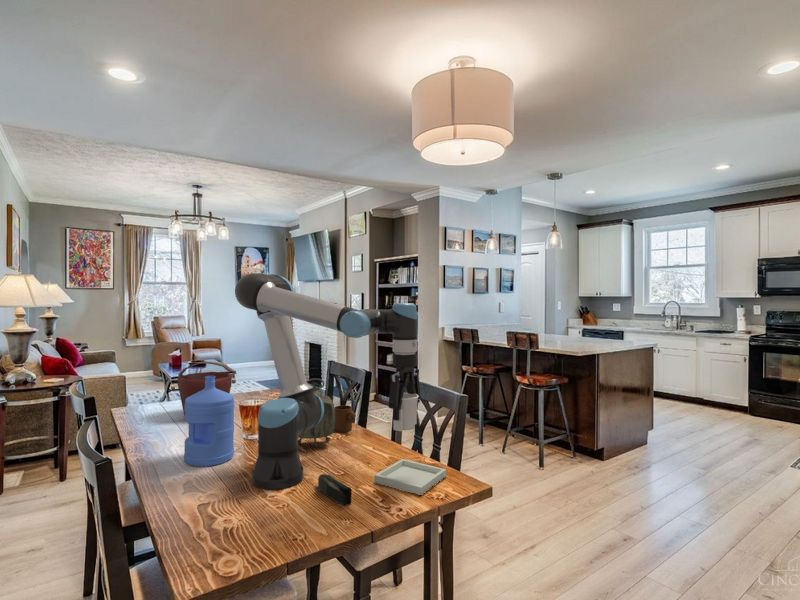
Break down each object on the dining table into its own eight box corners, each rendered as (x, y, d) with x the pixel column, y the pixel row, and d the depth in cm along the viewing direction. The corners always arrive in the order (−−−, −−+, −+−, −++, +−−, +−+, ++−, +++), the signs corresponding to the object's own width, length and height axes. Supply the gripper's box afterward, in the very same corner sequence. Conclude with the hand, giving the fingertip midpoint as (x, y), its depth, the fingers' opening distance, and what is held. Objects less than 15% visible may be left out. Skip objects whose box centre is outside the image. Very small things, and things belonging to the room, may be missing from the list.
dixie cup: (417, 423, 143) (417, 392, 143) (420, 431, 134) (419, 398, 134) (391, 424, 142) (391, 392, 142) (392, 431, 134) (391, 398, 134)
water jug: (216, 447, 164) (217, 371, 163) (243, 457, 154) (244, 376, 154) (174, 460, 151) (175, 377, 150) (200, 471, 142) (201, 382, 141)
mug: (361, 433, 183) (362, 409, 183) (346, 436, 178) (346, 412, 178) (345, 426, 192) (345, 404, 192) (330, 429, 188) (330, 406, 187)
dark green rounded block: (353, 486, 121) (321, 469, 132) (344, 490, 119) (312, 472, 130) (353, 505, 121) (320, 486, 132) (344, 508, 119) (312, 489, 130)
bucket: (243, 412, 212) (244, 359, 211) (214, 426, 190) (214, 367, 190) (198, 409, 217) (198, 357, 217) (164, 421, 196) (165, 364, 196)
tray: (421, 496, 126) (421, 487, 126) (374, 483, 135) (374, 475, 135) (446, 477, 140) (446, 469, 140) (402, 466, 148) (402, 458, 148)
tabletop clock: (331, 439, 174) (332, 375, 174) (335, 447, 165) (336, 379, 165) (293, 443, 170) (294, 377, 169) (295, 451, 161) (296, 381, 161)
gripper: (397, 357, 128) (398, 437, 128) (431, 350, 145) (431, 420, 145) (375, 356, 131) (376, 433, 132) (411, 349, 149) (411, 417, 149)
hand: (405, 426), depth 138 cm, fingers closed on dixie cup, 8 cm apart
